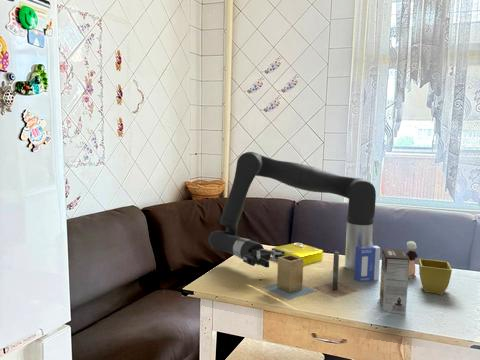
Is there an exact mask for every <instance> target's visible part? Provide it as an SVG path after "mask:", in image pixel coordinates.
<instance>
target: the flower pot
mask: <svg viewBox="0 0 480 360" xmlns="http://www.w3.org/2000/svg"><path fill="white" fill-rule="evenodd" d="M418 260H419V261H418V266H419V269H418V270H419V271H418V272H419V279H420V283H421V287H422V289H423V291H424V292H425V293H428V294H429V293H431V294H437V295H443V294H444V293H445V292H446V290H447V289H448V287H449V284H450V281H451V275H452V271H453V269H452V267H451V266H450V265H451V264H450V263H449V262H448V261H444V260H435V259H425V258H418Z"/></svg>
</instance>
